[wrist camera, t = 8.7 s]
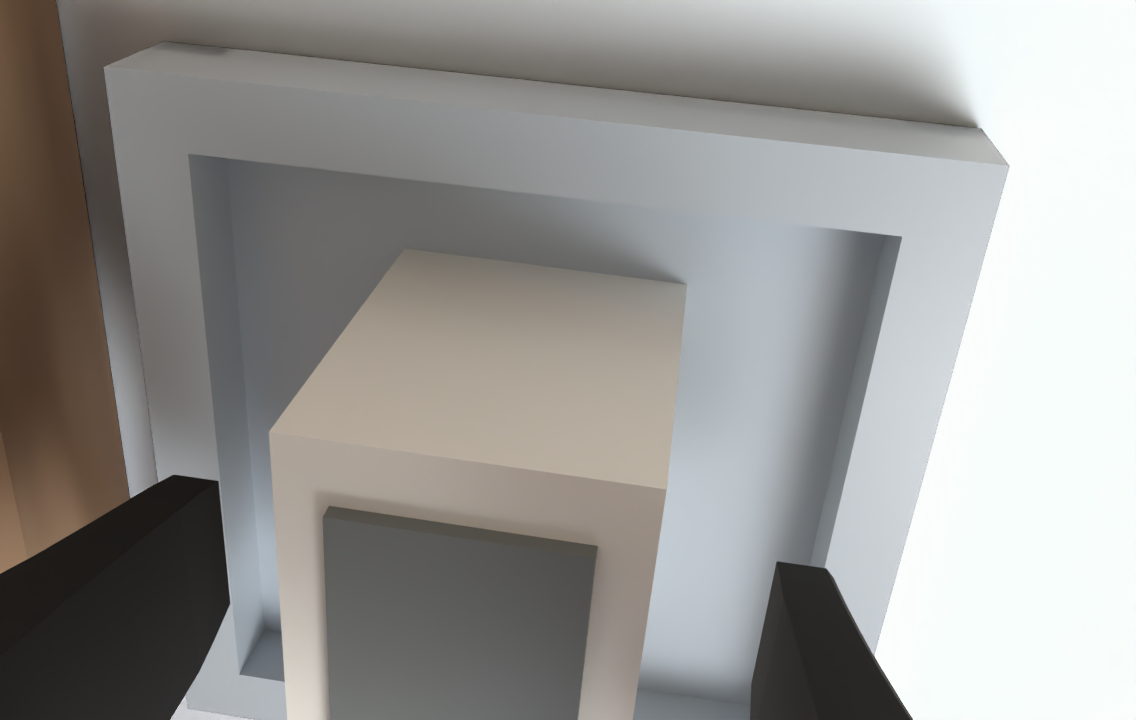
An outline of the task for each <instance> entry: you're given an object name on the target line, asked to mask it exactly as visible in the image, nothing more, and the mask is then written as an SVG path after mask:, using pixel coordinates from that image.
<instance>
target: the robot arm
mask: <svg viewBox="0 0 1136 720" xmlns="http://www.w3.org/2000/svg"><path fill="white" fill-rule="evenodd" d="M229 606H230V595H229V584H228V574H227V564H226V554H225V544H224V533H223V523H222V513H221V503H220V493H219V483H218V481H216V480H209V479H202V478H195V477H188V476H181V475H172V476H170V477H168V478H166V479H164V480H162V481H160V482H159V483H157V484H155V485H153V486H151V487H150V488H148V489H146V490H144V491H143V492H141V493H139V494H138V495H136V496H134V497H133V498H131V499H129V500H127V501H126V502H124V503H122V504H121V505H119V506H117V507H116V508H114V509H112V510H111V511H109V512H107V513H106V514H104V515H102V516H101V517H99V518H97V519H96V520H94V521H92V522H91V523H89V524H87V525H86V526H84V527H82V528H80V529H79V530H77V531H75V532H74V533H72V534H70V535H69V536H67V537H65V538H63V539H62V540H60V541H58V542H57V543H55V544H53V545H51V546H50V547H48V548H46V549H45V550H43V551H41V552H39V553H38V554H36V555H34V556H32V557H31V558H29V559H27V560H25V561H23V562H21V563H19V564H17V565H16V566H14V567H12V568H10V569H8V570H6V571H4V572H3V573H1V574H0V720H170V719H171V717H172V715H173V714H174V712H175V711H176V709H177V707H178V706H179V704H180V703H181V701H182V699H183V698H184V696H185V694H186V693H187V691H188V690H189V688H190V686H191V685H192V683H193V681H194V680H195V678H196V676H197V675H198V673H199V672H200V669H201V667H202V665H203V663H204V661H205V659H206V657H207V655H208V653H209V650H210V648H211V646H212V644H213V642H214V640H215V638H216V635H217V633H218V631H219V628H220V626H221V624H222V622H223V619H224V617H225V615H226V612H227V610H228V608H229ZM750 720H913V719H912V717H911V716H910V714H909V713H908V711H907V710H906V708H905V706H904V705H903V703H902V702H901V700H900V698H899V697H898V695H897V693H896V692H895V690H894V689H893V687H892V685H891V684H890V682H889V680H888V679H887V677H886V675H885V674H884V672H883V671H882V669H881V667H880V666H879V664H878V662H877V660H876V659H875V657H874V655H873V653H872V652H871V650H870V648H869V646H868V644H867V643H866V641H865V639H864V637H863V635H862V633H861V632H860V630H859V628H858V626H857V624H856V622H855V620H854V618H853V616H852V614H851V613H850V611H849V609H848V607H847V605H846V603H845V601H844V599H843V596H842V594H841V592H840V590H839V588H838V586H837V584H836V582H835V580H834V577H833V576H832V575H831V574H830V572H829V571H828V570H827V568H820V567H813V566H806V565H800V564H793V563H786V562H779V561H777V562H776V567H775V572H774V576H773V581H772V586H771V591H770V596H769V601H768V605H767V610H766V615H765V620H764V625H763V630H762V634H761V639H760V644H759V649H758V654H757V658H756V663H755V668H754V673H753V678H752V683H751V705H750Z"/></svg>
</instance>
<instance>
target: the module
mask: <svg viewBox="0 0 1136 720" xmlns="http://www.w3.org/2000/svg"><path fill="white" fill-rule="evenodd" d="M686 292H687V284H680V283H672V282H664V281H657V280H649V279H641V278H633V277H625V276H617V275H610V274H602V273H594V272H586V271H578V270H570V269H563V268H555V267H547V266H539V265H531V264H524V263H516V262H508V261H500V260H492V259H484V258H477V257H469V256H461V255H453V254H445V253H437V252H430V251H422V250H414V249H406V248H405V249H404V250H403V251H402V253H401V254H400V255H399V257H398V258H397V259H396V261H395V262H394V263H393V265H392V266H391V267H390V269H389V270H388V271H387V273H386V274H385V276H384V277H383V278H382V280H381V281H380V282H379V284H378V285H377V286H376V288H375V289H374V290H373V292H372V293H371V294H370V296H369V297H368V299H367V300H366V301H365V303H364V304H363V305H362V307H361V308H360V309H359V311H358V312H357V313H356V315H355V316H354V317H353V319H352V320H351V322H350V323H349V324H348V326H347V327H346V328H345V330H344V331H343V332H342V334H341V335H340V336H339V338H338V339H337V340H336V342H335V343H334V344H333V346H332V347H331V349H330V350H329V351H328V353H327V354H326V355H325V357H324V358H323V359H322V361H321V362H320V363H319V365H318V366H317V367H316V369H315V370H314V372H313V373H312V374H311V376H310V377H309V378H308V380H307V381H306V382H305V384H304V385H303V386H302V388H301V389H300V390H299V392H298V393H297V395H296V396H295V397H294V399H293V400H292V401H291V403H290V404H289V405H288V407H287V408H286V409H285V411H284V412H283V413H282V415H281V416H280V418H279V419H278V420H277V422H276V423H275V424H274V426H273V427H272V428H271V430H270V431H269V442H270V458H271V474H272V489H273V505H274V521H275V536H276V552H277V568H278V583H279V599H280V615H281V630H282V646H283V662H284V678H285V693H286V709H287V720H633V714H634V708H635V701H636V694H637V687H638V681H639V674H640V667H641V660H642V654H643V647H644V640H645V633H646V627H647V620H648V613H649V606H650V600H651V593H652V586H653V579H654V573H655V566H656V559H657V552H658V546H659V539H660V532H661V525H662V519H663V512H664V505H665V498H666V492H667V483H668V473H669V463H670V453H671V443H672V432H673V422H674V412H675V402H676V392H677V382H678V372H679V362H680V352H681V342H682V332H683V322H684V312H685V302H686Z"/></svg>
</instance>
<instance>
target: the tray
mask: <svg viewBox="0 0 1136 720" xmlns="http://www.w3.org/2000/svg"><path fill="white" fill-rule="evenodd" d="M103 68H104V75H105V83H106V91H107V98H108V106H109V113H110V121H111V129H112V136H113V144H114V151H115V159H116V166H117V174H118V182H119V189H120V197H121V204H122V212H123V220H124V227H125V235H126V242H127V250H128V258H129V265H130V273H131V280H132V288H133V296H134V303H135V311H136V318H137V326H138V334H139V341H140V349H141V356H142V364H143V372H144V379H145V387H146V394H147V402H148V410H149V417H150V425H151V432H152V440H153V448H154V455H155V463H156V470H157V478H158V483H159V482H160V481H162V480H164V479H166V478H168V477H170V476H172V475H181V476H188V477H195V478H202V479H209V480H216V481H218V483H219V493H220V503H221V513H222V523H223V533H224V544H225V554H226V564H227V574H228V584H229V595H230V606H229V608H228V610H227V612H226V615H225V617H224V619H223V622H222V624H221V626H220V628H219V631H218V633H217V635H216V638H215V640H214V642H213V644H212V646H211V648H210V650H209V653H208V655H207V657H206V659H205V661H204V663H203V665H202V667H201V669H200V672H199V673H198V675H197V676H196V678H195V680H194V681H193V683H192V685H191V686H190V688H189V690H188V691H187V693H186V698H187V706H188V709H193V710H200V711H206V712H212V713H218V714H224V715H230V716H236V717H242V718H248V719H254V720H287V709H286V693H285V678H284V662H283V646H282V630H281V615H280V599H279V583H278V568H277V552H276V536H275V521H274V505H273V489H272V474H271V458H270V442H269V431H270V430H271V428H272V427H273V426H274V424H275V423H276V422H277V420H278V419H279V418H280V416H281V415H282V413H283V412H284V411H285V409H286V408H287V407H288V405H289V404H290V403H291V401H292V400H293V399H294V397H295V396H296V395H297V393H298V392H299V390H300V389H301V388H302V386H303V385H304V384H305V382H306V381H307V380H308V378H309V377H310V376H311V374H312V373H313V372H314V370H315V369H316V367H317V366H318V365H319V363H320V362H321V361H322V359H323V358H324V357H325V355H326V354H327V353H328V351H329V350H330V349H331V347H332V346H333V344H334V343H335V342H336V340H337V339H338V338H339V336H340V335H341V334H342V332H343V331H344V330H345V328H346V327H347V326H348V324H349V323H350V322H351V320H352V319H353V317H354V316H355V315H356V313H357V312H358V311H359V309H360V308H361V307H362V305H363V304H364V303H365V301H366V300H367V299H368V297H369V296H370V294H371V293H372V292H373V290H374V289H375V288H376V286H377V285H378V284H379V282H380V281H381V280H382V278H383V277H384V276H385V274H386V273H387V271H388V270H389V269H390V267H391V266H392V265H393V263H394V262H395V261H396V259H397V258H398V257H399V255H400V254H401V253H402V251H403V250H404V249H405V248H406V249H414V250H422V251H430V252H437V253H445V254H453V255H461V256H469V257H477V258H484V259H492V260H500V261H508V262H516V263H524V264H531V265H539V266H547V267H555V268H563V269H570V270H578V271H586V272H594V273H602V274H610V275H617V276H625V277H633V278H641V279H649V280H657V281H664V282H672V283H680V284H687V292H686V302H685V312H684V322H683V332H682V342H681V352H680V362H679V372H678V382H677V392H676V402H675V412H674V422H673V432H672V443H671V453H670V463H669V473H668V483H667V492H666V498H665V505H664V512H663V519H662V525H661V532H660V539H659V546H658V552H657V559H656V566H655V573H654V579H653V586H652V593H651V600H650V606H649V613H648V620H647V627H646V633H645V640H644V647H643V654H642V660H641V667H640V674H639V681H638V687H637V694H636V701H635V708H634V714H633V720H750V705H751V683H752V678H753V673H754V668H755V663H756V658H757V654H758V649H759V644H760V639H761V634H762V630H763V625H764V620H765V615H766V610H767V605H768V601H769V596H770V591H771V586H772V581H773V576H774V572H775V567H776V562H777V561H779V562H786V563H793V564H800V565H806V566H813V567H820V568H827V570H828V571H829V572H830V574H831V575H832V576H833V577H834V580H835V582H836V584H837V586H838V588H839V590H840V592H841V594H842V596H843V599H844V601H845V603H846V605H847V607H848V609H849V611H850V613H851V614H852V616H853V618H854V620H855V622H856V624H857V626H858V628H859V630H860V632H861V633H862V635H863V637H864V639H865V641H866V643H867V644H868V646H869V648H870V650H871V652H872V653H873V655H874V654H875V651H876V647H877V643H878V640H879V636H880V633H881V629H882V625H883V622H884V618H885V614H886V611H887V607H888V604H889V600H890V596H891V593H892V589H893V586H894V582H895V578H896V575H897V571H898V567H899V564H900V560H901V557H902V553H903V549H904V546H905V542H906V539H907V535H908V531H909V528H910V524H911V520H912V517H913V513H914V510H915V506H916V502H917V499H918V495H919V492H920V488H921V484H922V481H923V477H924V473H925V470H926V466H927V463H928V459H929V455H930V452H931V448H932V445H933V441H934V437H935V434H936V430H937V426H938V423H939V419H940V416H941V412H942V408H943V405H944V401H945V397H946V394H947V390H948V387H949V383H950V379H951V376H952V372H953V369H954V365H955V361H956V358H957V354H958V350H959V347H960V343H961V340H962V336H963V332H964V329H965V325H966V322H967V318H968V314H969V311H970V307H971V303H972V300H973V296H974V293H975V289H976V285H977V282H978V278H979V275H980V271H981V267H982V264H983V260H984V256H985V253H986V249H987V246H988V242H989V238H990V235H991V231H992V227H993V224H994V220H995V217H996V213H997V209H998V206H999V202H1000V199H1001V195H1002V191H1003V188H1004V184H1005V180H1006V177H1007V173H1008V170H1009V165H1008V163H1007V162H1006V161H1005V159H1004V158H1003V157H1002V155H1001V154H1000V153H999V151H998V150H997V149H996V147H995V146H994V145H993V143H992V142H991V141H990V139H989V138H988V137H987V135H986V134H985V133H984V131H983V130H982V129H981V128H971V127H962V126H953V125H943V124H934V123H925V122H915V121H906V120H897V119H887V118H878V117H868V116H859V115H850V114H840V113H831V112H822V111H812V110H803V109H793V108H784V107H775V106H765V105H756V104H747V103H737V102H728V101H718V100H709V99H700V98H690V97H681V96H672V95H662V94H653V93H643V92H634V91H625V90H615V89H606V88H597V87H587V86H578V85H569V84H559V83H550V82H540V81H531V80H522V79H512V78H503V77H494V76H484V75H475V74H465V73H456V72H447V71H437V70H428V69H419V68H409V67H400V66H390V65H381V64H372V63H362V62H353V61H344V60H334V59H325V58H315V57H306V56H297V55H287V54H278V53H269V52H259V51H250V50H241V49H231V48H222V47H212V46H203V45H194V44H184V43H175V42H166V41H163V42H161V43H159V44H156V45H154V46H151V47H149V48H147V49H144V50H142V51H140V52H137V53H135V54H132V55H130V56H128V57H125V58H123V59H121V60H118V61H116V62H113V63H111V64H109V65H106V66H104V67H103Z"/></svg>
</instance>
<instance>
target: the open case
mask: <svg viewBox="0 0 1136 720" xmlns="http://www.w3.org/2000/svg"><path fill="white" fill-rule="evenodd" d="M129 499H130V496H129V489H128V483H127V476H126V469H125V462H124V456H123V449H122V442H121V435H120V429H119V422H118V415H117V408H116V402H115V395H114V388H113V381H112V375H111V368H110V361H109V354H108V348H107V341H106V334H105V327H104V321H103V314H102V307H101V300H100V294H99V287H98V280H97V273H96V267H95V260H94V253H93V246H92V239H91V233H90V226H89V219H88V212H87V206H86V199H85V192H84V185H83V179H82V172H81V165H80V158H79V152H78V145H77V138H76V131H75V125H74V118H73V111H72V104H71V98H70V91H69V84H68V77H67V71H66V64H65V57H64V50H63V44H62V37H61V30H60V23H59V16H58V10H57V3H56V0H0V574H1V573H3V572H4V571H6V570H8V569H10V568H12V567H14V566H16V565H17V564H19V563H21V562H23V561H25V560H27V559H29V558H31V557H32V556H34V555H36V554H38V553H39V552H41V551H43V550H45V549H46V548H48V547H50V546H51V545H53V544H55V543H57V542H58V541H60V540H62V539H63V538H65V537H67V536H69V535H70V534H72V533H74V532H75V531H77V530H79V529H80V528H82V527H84V526H86V525H87V524H89V523H91V522H92V521H94V520H96V519H97V518H99V517H101V516H102V515H104V514H106V513H107V512H109V511H111V510H112V509H114V508H116V507H117V506H119V505H121V504H122V503H124V502H126V501H127V500H129Z"/></svg>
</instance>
